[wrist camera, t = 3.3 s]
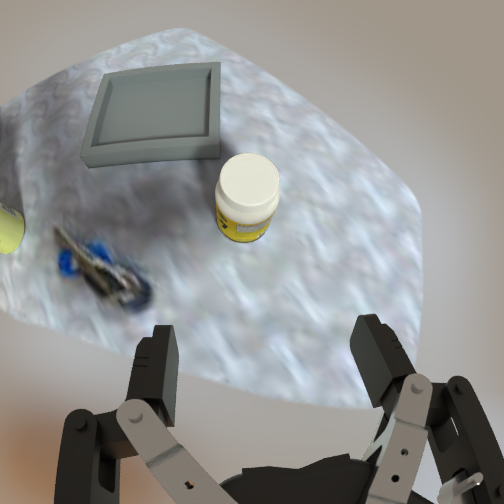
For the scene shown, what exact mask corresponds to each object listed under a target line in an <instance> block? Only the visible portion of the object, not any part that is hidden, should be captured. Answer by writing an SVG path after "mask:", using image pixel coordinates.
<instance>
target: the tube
mask: <svg viewBox="0 0 504 504" xmlns="http://www.w3.org/2000/svg"><path fill="white" fill-rule="evenodd" d="M24 229H25V226H24V220H23V217H22V215H21V214H20V213H19V212H17V211H16V210H14V209H12V208H11V207H9V206H7V205H6V204H4V203H2V202H1V201H0V252H1V253H3V254H9V253H11V252H13V251H14V250H15V249H16V248H17V247H18V246H19V244H20V243H21V240H22V238H23V235H24Z"/></svg>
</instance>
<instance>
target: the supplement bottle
mask: <svg viewBox="0 0 504 504" xmlns="http://www.w3.org/2000/svg"><path fill="white" fill-rule="evenodd" d="M279 182H280V180H279V174H278V171H277V169H276V167H275V166H274V164H273V163H272V162H271V161H270V160H268V159H267V158H265V157H263V156H261V155H258V154H254V153H242V154H239V155H236V156H234V157H232V158H230V159H229V160H228V161H227V162H226V163H225V164H224V166H223V167H222V169H221V172H220V177H219V180H218V182H217V184H216V188H215V203H216V216H217V224H218V227H219V229H220V231H221V233H222V234H223V235H224V236H225V237H226V238H227V239H229V240H230V241H232V242H235V243H239V244H248V243H252V242H254V241H256V240H258V239H260V238H261V237H262V236H263V235H264V234H265V232H266V230H267V228H268V226H269V224H270V222H271V219H272V217H273V215H274V212H275V210H276V208H277V205H278V202H279Z"/></svg>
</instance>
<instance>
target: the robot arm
mask: <svg viewBox="0 0 504 504" xmlns="http://www.w3.org/2000/svg"><path fill="white" fill-rule="evenodd" d="M350 349H351V352H352V355H353V357H354V360H355V362H356V365H357V367H358V370H359V372H360V375H361V377H362V380H363V382H364V385H365V387H366V390H367V392H368V395H369V398H370V400H371V403H372V405H373V408H376V407H380V406H382V407H383V410H384V411H383V412H382V414H381V417H380V420H379V422H378V425H377V428H376V430H375V433H374V435H373V438H372V440H371V443H370V445H369V447H368V449H367V451H366V452H365V454H364V455H363V457H362V459H361V460H358V459H350V456H349V454H343V455H338V456H333V457H329V458H324V459H322V460H319V461H317V462H315V463H313V464H310V465H308V466H305V467H303V468H300V469H291V468H281V467H272V466H267V467H255V468H242V474H238V475H236V476H233V477H231V478H229V479H227V480H225V481H223V482H222V483H221V484H217V482H216V481H214V479H213V478H212V477H211V476H210V475H209V474H208V473H207V472H206V471H205V470H204V469H203V468H202V467H201V466H200V465H199V463H198V462H197V461H196V460H195V459H194V458H193V457H192V456H191V454H190V453H189V452H188V451H187V450H186V449H185V448H184V447H183V446H182V445H180V444H179V443H178V442H177V440H176V439H175V438H174V437H173V436H172V434H171V433H170V432H169V431H168V429H167V427H174V422H175V404H176V390H177V376H178V364H179V353H178V346H177V342H176V337H175V332H174V328H173V325H155V327H154V331H153V336H152V337H143V339H142V340H141V341H140V343H139V344H138V345H137V348H136V352H135V359H134V362H133V367H132V371H131V377H130V381H129V387H128V392H127V397H126V400H125V402H124V403H123V404H121V405H120V406H119V408H118V409H116V410H114V411H111V412H107V413H102V414H97V415H93V414H92V413H91V412H90V411H88V410H85V409H77V410H74V411H72V412H71V413H70V414H69V415H68V416H67V417H66V419H65V423H64V428H63V434H62V439H61V446H60V452H59V459H58V466H57V475H56V484H55V496H54V504H119V490H120V489H119V487H120V459H121V458H127V457H131V456H136V455H140V457H141V458H142V459H143V461H144V462H145V464H146V466H147V467H148V469H149V470H150V471H151V473H152V474H153V476H154V477H155V478H156V479H157V481H158V482H159V483H160V485H161V486H162V487H163V488H164V489H165V491H166V492H167V493H168V494H169V496H170V497H171V498H172V499H173V500H174V502H175V503H176V504H434V503H433V502H431V501H429V500H427V499H426V498H424V497H422V496H421V495H419V494H418V493H416V492H414V491H413V490H411V489H412V486H413V484H414V481H415V478H416V474H417V472H418V468H419V465H420V462H421V458H422V455H423V451H424V447H425V444H426V440H427V439H428V441H429V444H430V447H431V450H432V453H433V456H434V459H435V463H436V466H437V469H438V472H439V475H440V479H441V482H442V486H441V488H440V491H439V495H438V497H437V501H438V503H439V504H504V458H503V456H502V453H501V450H500V448H499V445H498V442H497V440H496V438H495V435H494V433H493V430H492V428H491V426H490V424H489V421H488V419H487V417H486V415H485V412H484V411H483V408H482V406H481V404H480V402H479V400H478V398H477V396H476V394H475V392H474V390H473V388H472V386H471V384H470V382H469V381H468V380H467V379H466V378H464V377H462V376H453V377H452V378H450V380H449V381H448V382H447V383H431V382H430V381H429V379H428V378H426V377H425V376H423V375H421V374H417V373H416V371H415V369H414V367H413V365H412V364H411V362H410V360H409V358H408V356H407V354H406V352H405V350H404V349H403V348H402V345H401V343H400V341H398V338H397V336H396V334H395V332H394V331H393V330H392V329H391V328H390V327H389V326H388V325H387V324H381V322H380V320H379V318H378V317H377V315H376V314H367V315H359V316H358V318H357V320H356V323H355V326H354V329H353V332H352V335H351V338H350ZM451 418H452V419H453V421H454V424H455V426H456V429H457V431H458V435H457V432H456V429H455V427H454V424H453V422H452V419H451Z"/></svg>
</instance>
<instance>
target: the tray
mask: <svg viewBox="0 0 504 504" xmlns="http://www.w3.org/2000/svg"><path fill="white" fill-rule="evenodd" d="M220 69H221V62H211V63H189V64H175V65H164V66H155V67H146V68H139V69H132V70H125V71H119V72H113V73H108V74H104V76H103V78H102V81H101V84H100V87H99V90H98V93H97V96H96V99H95V102H94V106H93V109H92V112H91V116H90V119H89V123H88V126H87V130H86V134H85V137H84V141H83V145H82V150H81V154H80V158H81V159H82V160H83V161H84V163H85V164H86V165H87V167H88V168H96V167H104V166H113V165H123V164H134V163H145V162H159V161H174V160H194V159H220Z"/></svg>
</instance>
